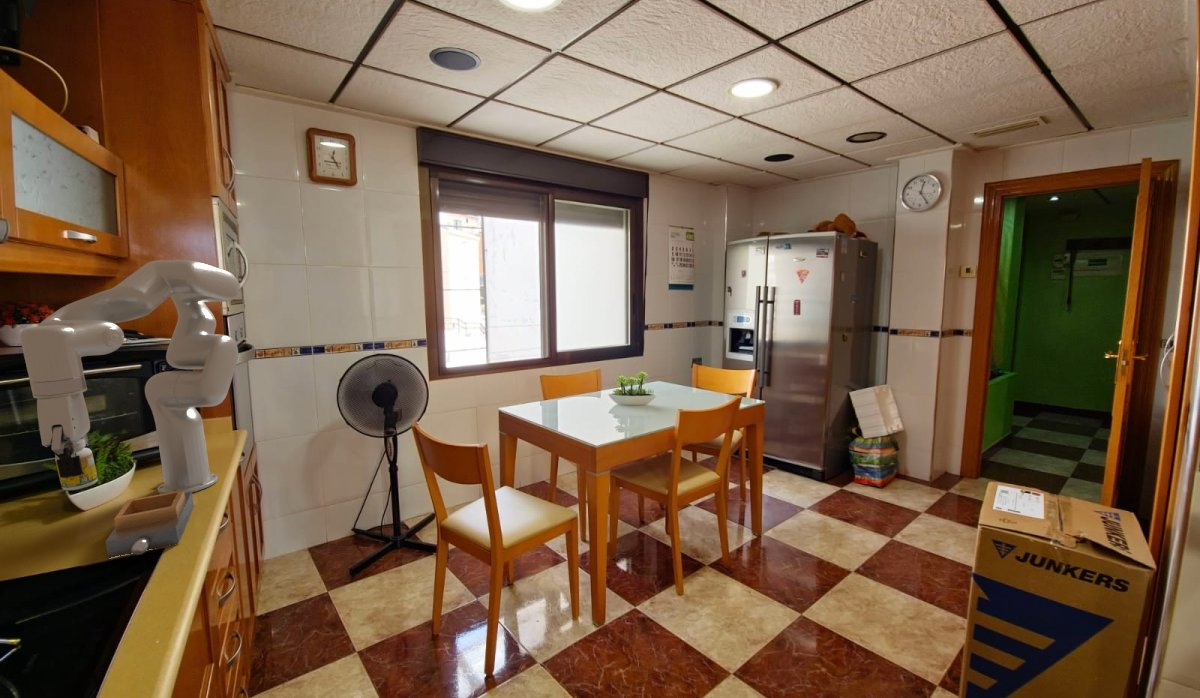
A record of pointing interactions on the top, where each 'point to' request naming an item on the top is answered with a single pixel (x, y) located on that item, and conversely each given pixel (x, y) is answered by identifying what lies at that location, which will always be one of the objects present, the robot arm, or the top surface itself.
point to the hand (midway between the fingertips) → (77, 469)
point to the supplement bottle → (88, 469)
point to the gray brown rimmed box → (150, 523)
